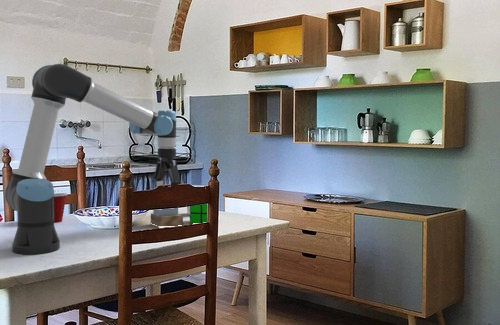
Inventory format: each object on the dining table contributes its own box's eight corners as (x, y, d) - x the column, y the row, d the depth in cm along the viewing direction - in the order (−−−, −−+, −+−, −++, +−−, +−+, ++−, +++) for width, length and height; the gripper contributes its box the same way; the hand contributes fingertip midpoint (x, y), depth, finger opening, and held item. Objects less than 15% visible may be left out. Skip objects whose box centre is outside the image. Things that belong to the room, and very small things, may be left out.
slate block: (158, 216, 228) (158, 206, 228) (153, 214, 232) (153, 204, 232) (178, 214, 233) (178, 205, 232) (173, 212, 237) (173, 203, 237)
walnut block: (160, 229, 226) (160, 217, 226) (150, 225, 235) (150, 213, 234) (182, 227, 232) (182, 215, 231) (172, 222, 240) (172, 211, 240)
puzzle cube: (216, 220, 245) (217, 198, 244) (212, 225, 235) (213, 202, 234) (194, 220, 246) (194, 197, 245) (189, 224, 236) (189, 201, 235)
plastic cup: (57, 218, 245) (57, 191, 244) (73, 221, 238) (72, 193, 237) (35, 221, 236) (35, 193, 235) (51, 225, 230) (50, 196, 228)
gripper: (189, 149, 223) (188, 202, 225) (162, 145, 243) (162, 194, 245) (172, 149, 218) (171, 203, 220) (146, 146, 239) (146, 195, 241)
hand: (166, 198), depth 233 cm, fingers open, 13 cm apart
